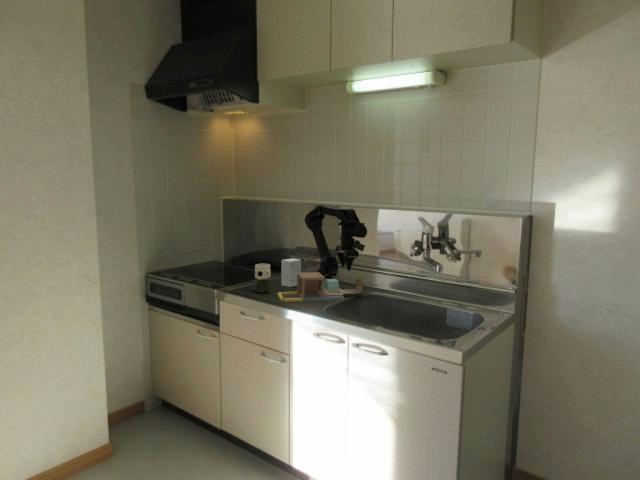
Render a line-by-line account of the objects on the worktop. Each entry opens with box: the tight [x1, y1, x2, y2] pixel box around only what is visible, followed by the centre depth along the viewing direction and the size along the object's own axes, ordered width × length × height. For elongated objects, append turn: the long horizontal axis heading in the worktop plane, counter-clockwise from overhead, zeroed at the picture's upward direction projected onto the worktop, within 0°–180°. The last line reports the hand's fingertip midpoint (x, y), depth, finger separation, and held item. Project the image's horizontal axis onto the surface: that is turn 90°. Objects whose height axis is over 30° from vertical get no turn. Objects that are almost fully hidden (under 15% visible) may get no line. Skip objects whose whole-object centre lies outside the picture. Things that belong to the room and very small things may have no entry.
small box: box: [280, 258, 302, 288], centre depth 233 cm, size 8×6×13 cm
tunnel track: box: [277, 271, 345, 303], centre depth 209 cm, size 12×28×10 cm, turn 104°
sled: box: [320, 277, 363, 296], centre depth 212 cm, size 8×18×6 cm, turn 104°
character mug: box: [254, 263, 272, 294], centre depth 217 cm, size 11×7×13 cm, turn 46°
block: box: [325, 278, 340, 291], centre depth 211 cm, size 5×5×5 cm
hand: (345, 268), depth 217 cm, fingers open, 9 cm apart
